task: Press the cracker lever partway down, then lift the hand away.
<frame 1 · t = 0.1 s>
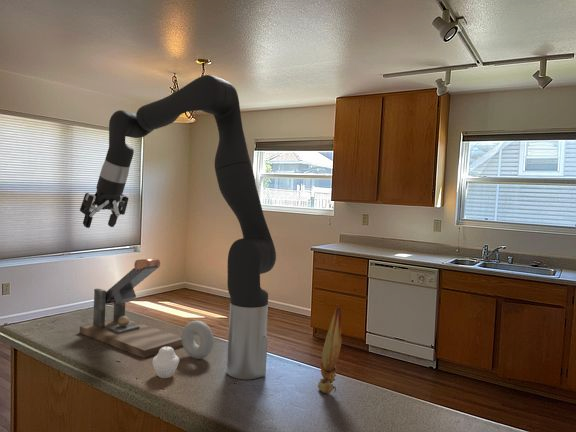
hand: (98, 226, 137), 31 cm above the countertop, tool tilted 20°, fingers open, 8 cm apart
donut: (196, 359, 118), on the countertop
cracker lever: (129, 285, 131), point 15 cm above the countertop, hinge at 35.0°
muffin: (165, 376, 106), on the countertop
cracker base: (131, 338, 130), on the countertop
tan tall pointed piece: (326, 395, 100), on the countertop
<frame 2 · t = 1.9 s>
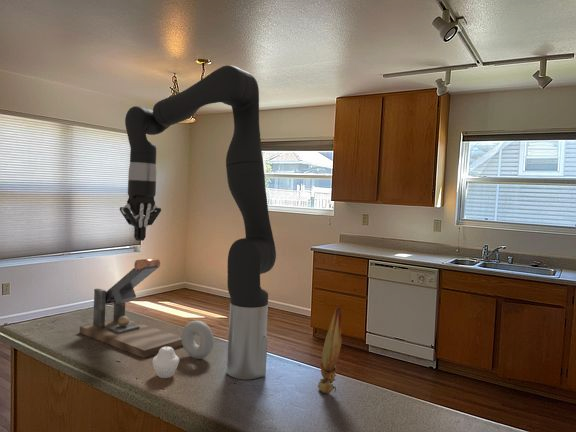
hand: (139, 240, 128), 29 cm above the countertop, tool pointing down, fingers closed
nothing on the countertop moved.
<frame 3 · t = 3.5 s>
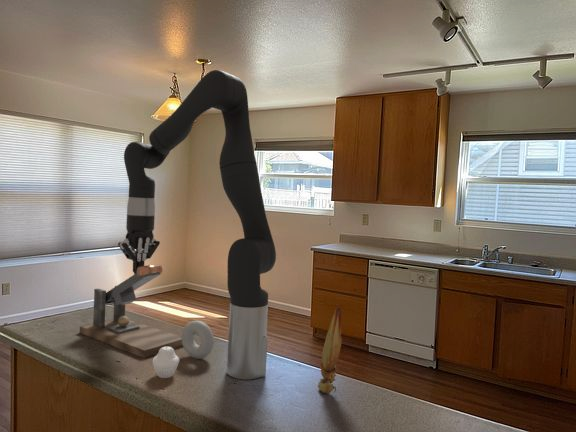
hand: (138, 274, 128), 19 cm above the countertop, tool pointing down, fingers closed
cracker lever: (130, 289, 130), point 14 cm above the countertop, hinge at 29.6°
everything else where it was.
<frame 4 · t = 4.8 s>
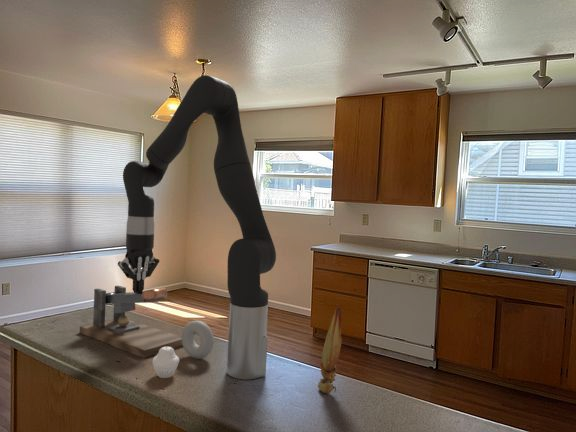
hand: (138, 292, 128), 14 cm above the countertop, tool pointing down, fingers closed
cracker lever: (131, 300, 130), point 11 cm above the countertop, hinge at 10.9°, touching gripper
everything else where it was.
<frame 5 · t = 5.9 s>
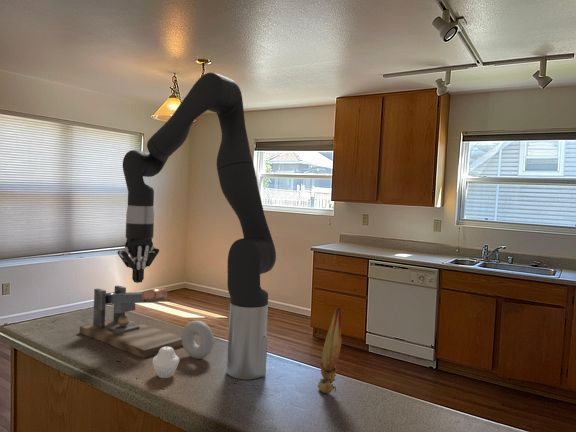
hand: (137, 282, 128), 17 cm above the countertop, tool pointing down, fingers closed
cracker lever: (131, 300, 130), point 11 cm above the countertop, hinge at 10.8°
everything else where it was.
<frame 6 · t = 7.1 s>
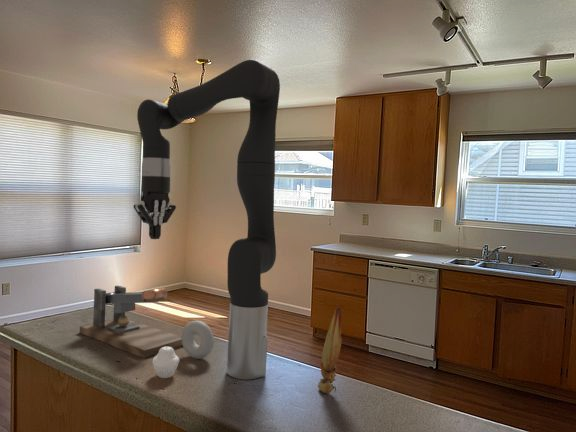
hand: (154, 238, 123), 30 cm above the countertop, tool pointing down, fingers closed
nothing on the countertop moved.
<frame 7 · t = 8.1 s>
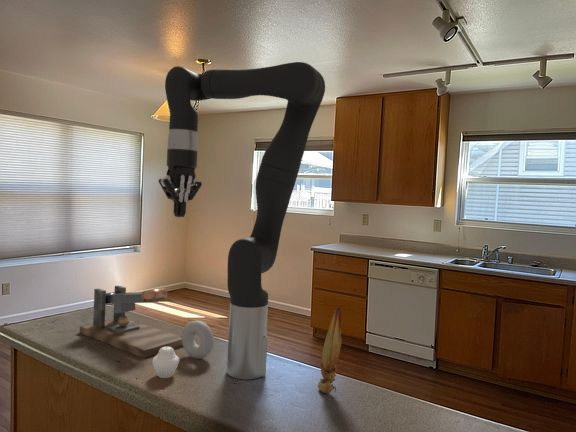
hand: (179, 216, 115), 37 cm above the countertop, tool pointing down, fingers closed
nothing on the countertop moved.
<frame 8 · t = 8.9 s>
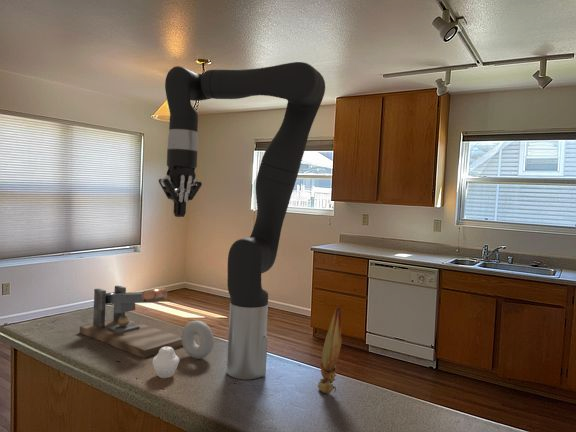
hand: (179, 216, 115), 37 cm above the countertop, tool pointing down, fingers closed
nothing on the countertop moved.
at the end: cracker lever at +11° (first picture: +35°) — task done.
